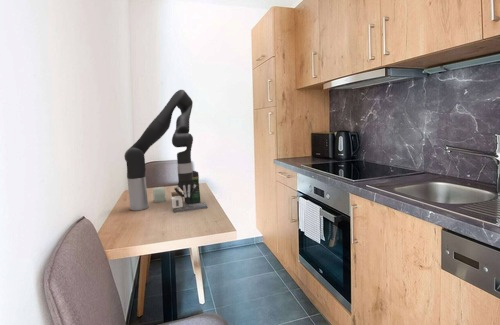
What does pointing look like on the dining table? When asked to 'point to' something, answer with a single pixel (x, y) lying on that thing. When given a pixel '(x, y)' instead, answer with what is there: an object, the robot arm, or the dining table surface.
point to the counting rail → (191, 207)
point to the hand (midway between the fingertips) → (187, 204)
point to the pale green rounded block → (159, 194)
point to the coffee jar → (196, 196)
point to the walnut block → (175, 194)
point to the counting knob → (177, 202)
